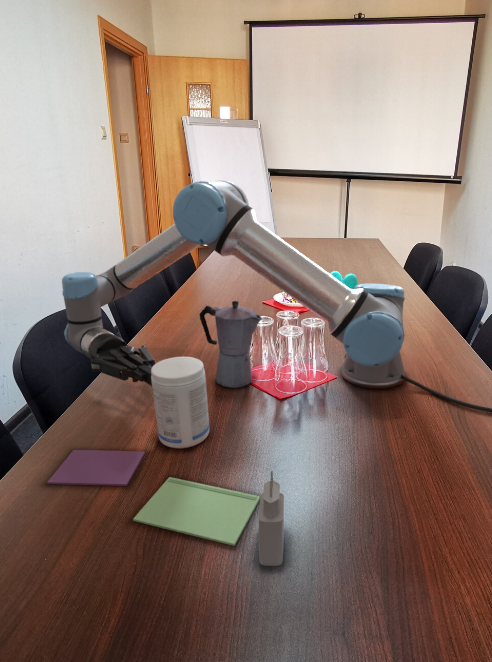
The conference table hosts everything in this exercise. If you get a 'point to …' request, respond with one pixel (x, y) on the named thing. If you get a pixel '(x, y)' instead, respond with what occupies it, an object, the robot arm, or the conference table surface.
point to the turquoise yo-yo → (346, 279)
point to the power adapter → (271, 524)
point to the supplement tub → (180, 401)
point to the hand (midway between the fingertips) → (158, 381)
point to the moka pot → (232, 342)
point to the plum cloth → (98, 468)
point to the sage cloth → (199, 510)
